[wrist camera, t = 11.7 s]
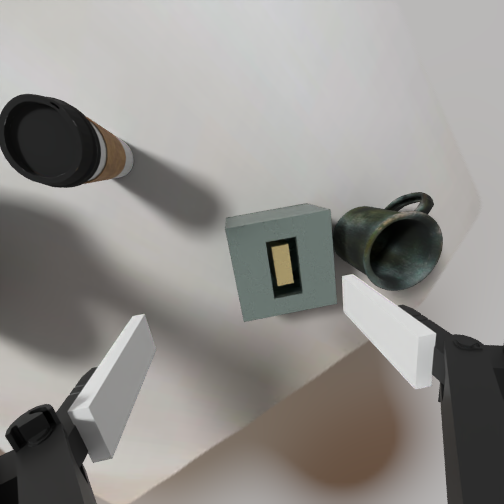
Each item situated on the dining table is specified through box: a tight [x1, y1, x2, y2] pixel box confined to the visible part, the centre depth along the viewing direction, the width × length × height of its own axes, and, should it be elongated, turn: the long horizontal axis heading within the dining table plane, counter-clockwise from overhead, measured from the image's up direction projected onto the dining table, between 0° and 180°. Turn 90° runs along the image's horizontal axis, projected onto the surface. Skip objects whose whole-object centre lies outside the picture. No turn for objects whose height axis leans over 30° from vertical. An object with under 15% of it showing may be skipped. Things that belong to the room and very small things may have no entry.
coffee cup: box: [0, 94, 133, 188], centre depth 29 cm, size 8×8×15 cm
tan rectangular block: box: [266, 239, 294, 286], centre depth 38 cm, size 2×6×8 cm, turn 10°
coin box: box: [225, 203, 337, 322], centre depth 38 cm, size 14×14×10 cm
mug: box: [333, 192, 443, 291], centre depth 37 cm, size 11×15×12 cm
